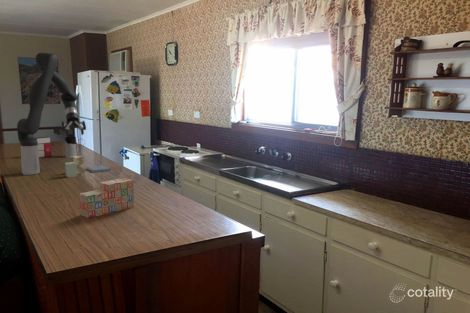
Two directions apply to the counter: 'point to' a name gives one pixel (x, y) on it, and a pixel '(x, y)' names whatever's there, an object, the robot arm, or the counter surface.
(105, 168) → the slate board
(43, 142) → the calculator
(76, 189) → the counter surface
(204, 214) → the counter surface
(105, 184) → the stack of blocks
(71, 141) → the glass holder
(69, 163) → the sage block
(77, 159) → the birch block
